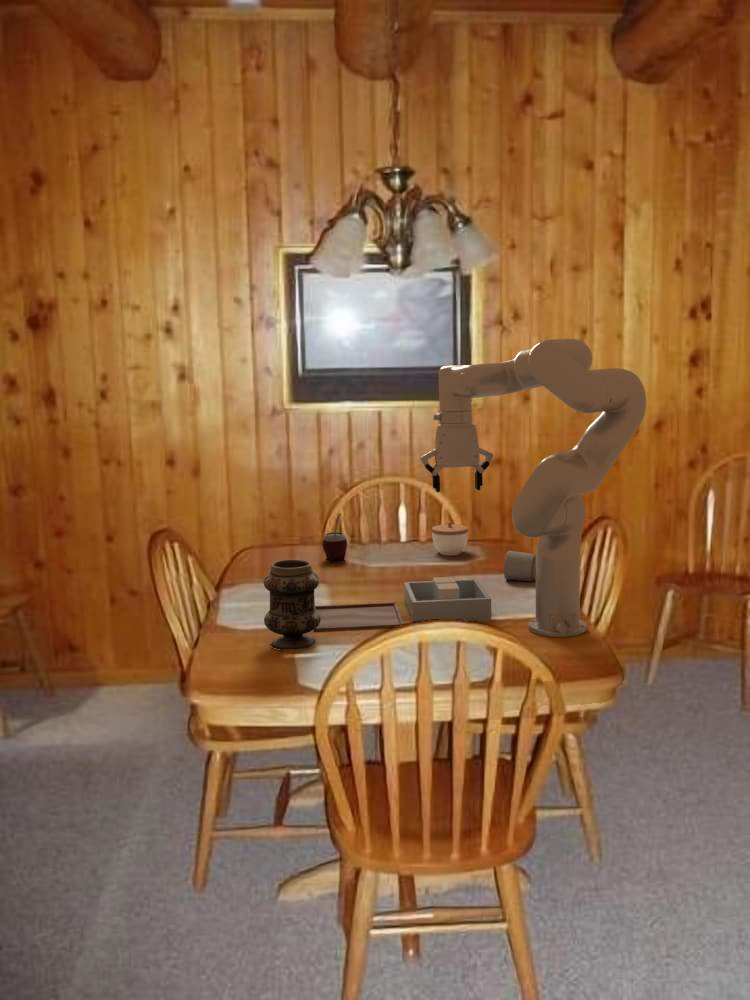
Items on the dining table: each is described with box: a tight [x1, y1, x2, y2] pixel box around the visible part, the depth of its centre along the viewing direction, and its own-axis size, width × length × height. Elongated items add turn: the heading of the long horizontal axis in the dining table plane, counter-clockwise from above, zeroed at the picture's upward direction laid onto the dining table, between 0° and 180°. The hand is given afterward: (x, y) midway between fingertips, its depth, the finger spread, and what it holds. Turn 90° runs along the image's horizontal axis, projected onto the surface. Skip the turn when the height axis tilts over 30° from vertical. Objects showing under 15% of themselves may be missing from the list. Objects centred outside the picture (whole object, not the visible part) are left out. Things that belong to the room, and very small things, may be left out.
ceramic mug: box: [503, 550, 536, 582], centre depth 259 cm, size 11×8×8 cm
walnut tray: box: [313, 601, 405, 632], centre depth 226 cm, size 18×20×1 cm
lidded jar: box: [431, 521, 469, 557], centre depth 290 cm, size 11×11×9 cm
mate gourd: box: [322, 513, 348, 564], centre depth 283 cm, size 8×8×15 cm
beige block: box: [436, 583, 459, 600], centre depth 228 cm, size 5×5×6 cm
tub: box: [403, 578, 492, 622], centre depth 231 cm, size 18×18×5 cm
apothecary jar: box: [263, 558, 321, 651], centre depth 208 cm, size 12×12×18 cm
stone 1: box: [432, 576, 456, 600], centre depth 234 cm, size 5×5×6 cm
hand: (457, 490), depth 232 cm, fingers open, 9 cm apart
